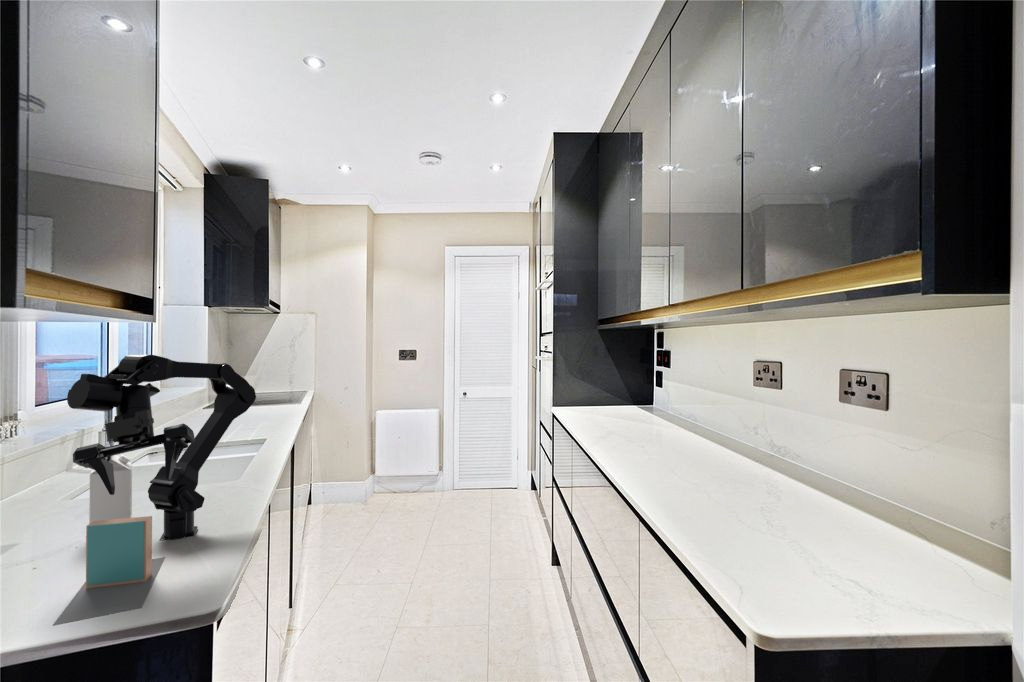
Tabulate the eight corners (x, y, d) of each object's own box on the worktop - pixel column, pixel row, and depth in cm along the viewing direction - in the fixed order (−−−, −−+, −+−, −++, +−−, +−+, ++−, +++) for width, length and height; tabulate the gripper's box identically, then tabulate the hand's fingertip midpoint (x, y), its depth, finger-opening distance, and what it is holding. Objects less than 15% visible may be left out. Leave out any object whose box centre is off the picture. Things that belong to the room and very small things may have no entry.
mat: (95, 571, 93) (95, 568, 93) (165, 559, 98) (165, 556, 98) (52, 629, 74) (52, 625, 74) (141, 611, 79) (141, 607, 79)
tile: (93, 581, 88) (94, 520, 88) (151, 574, 90) (152, 515, 90) (84, 589, 85) (85, 526, 85) (145, 582, 88) (145, 521, 88)
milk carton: (88, 543, 106) (89, 456, 106) (92, 532, 112) (93, 450, 112) (130, 535, 110) (130, 452, 110) (131, 526, 116) (132, 446, 116)
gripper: (56, 412, 89) (58, 495, 84) (174, 388, 96) (183, 463, 91) (85, 429, 99) (89, 505, 93) (191, 406, 106) (200, 475, 101)
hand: (140, 486), depth 94 cm, fingers open, 9 cm apart
